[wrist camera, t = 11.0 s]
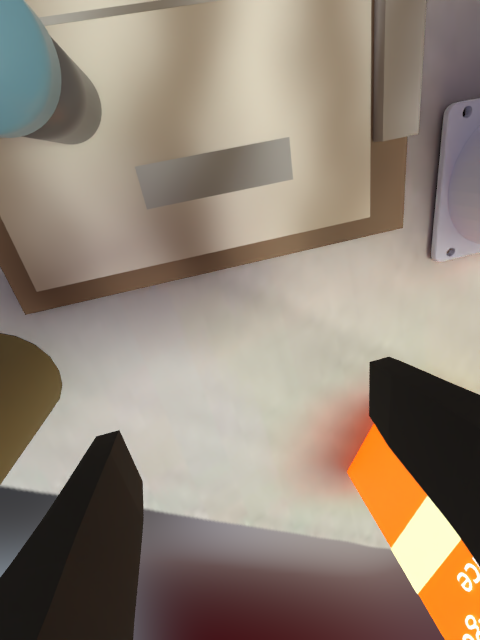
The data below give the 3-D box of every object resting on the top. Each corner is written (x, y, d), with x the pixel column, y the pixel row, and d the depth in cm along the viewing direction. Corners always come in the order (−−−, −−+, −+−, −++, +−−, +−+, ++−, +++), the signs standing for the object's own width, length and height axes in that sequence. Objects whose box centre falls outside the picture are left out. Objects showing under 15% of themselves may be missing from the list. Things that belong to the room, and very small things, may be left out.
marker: (88, 50, 13) (-9, -90, 6) (114, 139, 14) (64, 119, 7) (4, 63, 12) (-209, -68, 5) (40, 153, 14) (-92, 146, 7)
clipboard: (416, -196, 12) (441, -230, 11) (398, 226, 19) (412, 230, 18) (-202, -141, 10) (-246, -176, 9) (28, 311, 17) (19, 321, 16)
